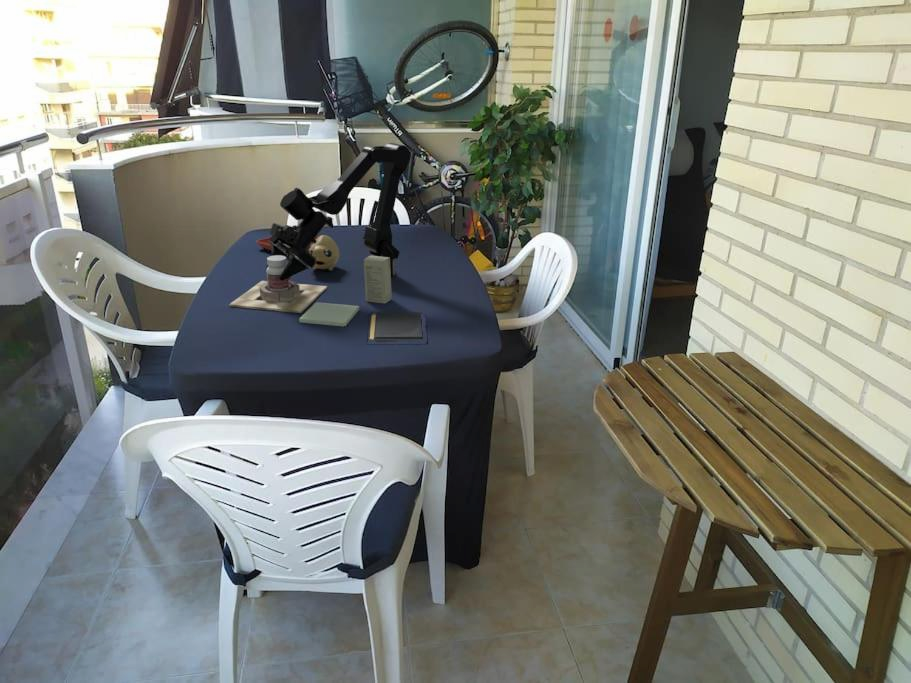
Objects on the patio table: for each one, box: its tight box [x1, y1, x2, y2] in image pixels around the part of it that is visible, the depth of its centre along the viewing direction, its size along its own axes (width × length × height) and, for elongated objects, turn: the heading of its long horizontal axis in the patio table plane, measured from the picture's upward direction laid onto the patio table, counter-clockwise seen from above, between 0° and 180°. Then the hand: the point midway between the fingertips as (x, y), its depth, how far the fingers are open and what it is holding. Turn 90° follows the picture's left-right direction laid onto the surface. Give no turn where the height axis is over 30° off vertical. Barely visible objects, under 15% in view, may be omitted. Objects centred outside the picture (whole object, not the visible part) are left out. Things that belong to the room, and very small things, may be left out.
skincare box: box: [363, 254, 393, 305], centre depth 177 cm, size 6×4×12 cm
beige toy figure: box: [308, 234, 340, 271], centre depth 200 cm, size 10×12×11 cm
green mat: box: [298, 301, 360, 327], centre depth 168 cm, size 12×12×1 cm
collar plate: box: [228, 280, 328, 314], centre depth 179 cm, size 20×20×3 cm
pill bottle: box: [265, 255, 292, 292], centre depth 177 cm, size 6×6×11 cm
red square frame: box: [255, 236, 319, 256], centre depth 223 cm, size 18×18×3 cm
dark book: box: [367, 311, 423, 343], centre depth 162 cm, size 20×2×15 cm
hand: (273, 275), depth 176 cm, fingers open, 9 cm apart
